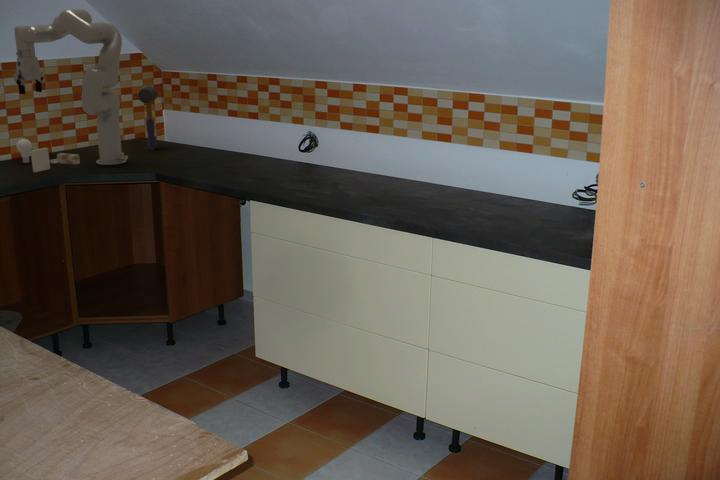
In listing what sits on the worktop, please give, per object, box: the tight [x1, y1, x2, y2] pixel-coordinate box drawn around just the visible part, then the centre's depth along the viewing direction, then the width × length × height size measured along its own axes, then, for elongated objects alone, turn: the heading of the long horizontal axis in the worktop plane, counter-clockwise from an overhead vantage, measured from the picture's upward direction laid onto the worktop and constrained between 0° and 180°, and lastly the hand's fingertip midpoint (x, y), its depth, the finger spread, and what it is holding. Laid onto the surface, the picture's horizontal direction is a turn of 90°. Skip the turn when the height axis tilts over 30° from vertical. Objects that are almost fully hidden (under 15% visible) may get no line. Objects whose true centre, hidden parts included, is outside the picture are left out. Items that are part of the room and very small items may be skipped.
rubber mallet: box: [137, 86, 159, 151], centre depth 389 cm, size 12×8×30 cm, turn 1°
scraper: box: [49, 152, 81, 165], centre depth 361 cm, size 16×6×4 cm, turn 66°
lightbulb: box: [15, 138, 33, 165], centre depth 359 cm, size 6×6×11 cm
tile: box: [30, 147, 51, 173], centre depth 344 cm, size 2×8×9 cm, turn 156°
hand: (30, 92), depth 368 cm, fingers open, 9 cm apart
